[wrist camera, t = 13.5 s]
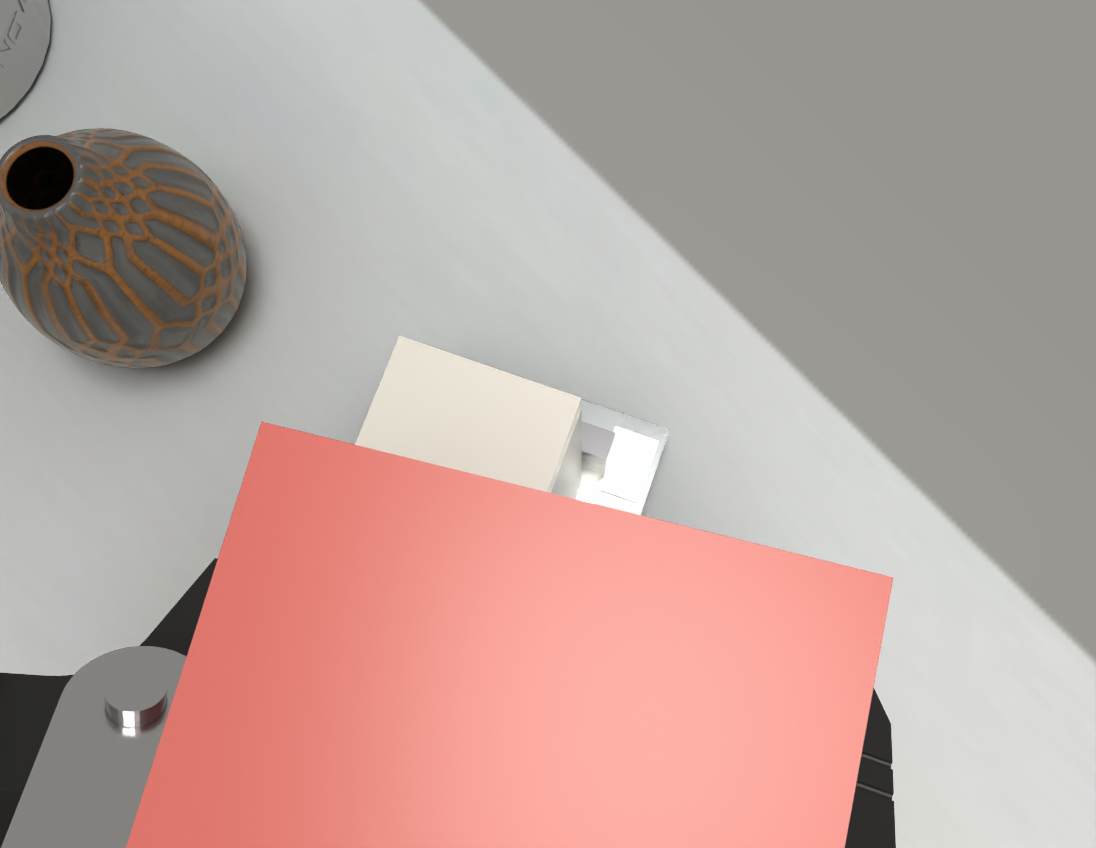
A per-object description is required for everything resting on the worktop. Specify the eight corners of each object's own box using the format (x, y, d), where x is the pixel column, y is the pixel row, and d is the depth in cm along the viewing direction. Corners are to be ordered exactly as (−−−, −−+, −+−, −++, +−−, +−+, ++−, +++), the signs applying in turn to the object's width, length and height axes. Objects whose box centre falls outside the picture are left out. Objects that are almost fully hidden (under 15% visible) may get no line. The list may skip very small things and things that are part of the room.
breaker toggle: (547, 575, 30) (530, 537, 20) (420, 529, 30) (344, 470, 20) (581, 480, 30) (581, 397, 21) (457, 436, 31) (399, 335, 21)
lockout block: (367, 829, 16) (42, 1111, 6) (443, 552, 17) (261, 422, 7) (645, 906, 16) (758, 1330, 6) (707, 619, 17) (893, 576, 7)
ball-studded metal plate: (527, 842, 31) (516, 877, 26) (284, 746, 31) (229, 762, 27) (664, 442, 33) (679, 406, 28) (436, 364, 34) (412, 315, 29)
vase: (85, 198, 36) (-72, 56, 27) (279, 199, 35) (182, 56, 27) (59, 388, 34) (-115, 300, 26) (262, 391, 34) (153, 304, 25)
